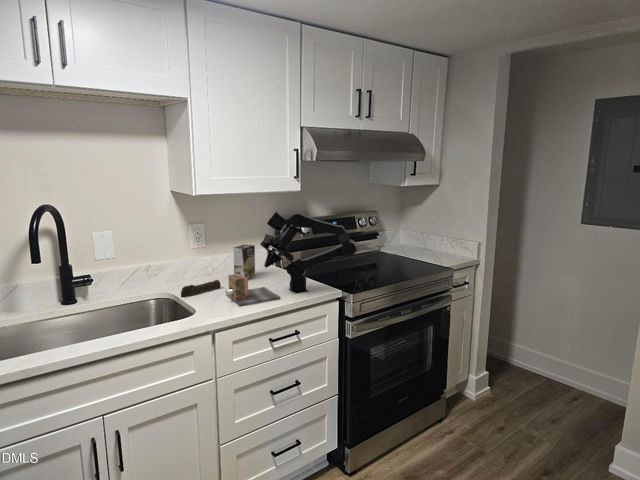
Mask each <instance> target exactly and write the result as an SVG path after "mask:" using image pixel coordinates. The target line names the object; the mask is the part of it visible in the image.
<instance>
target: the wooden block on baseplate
mask: <svg viewBox="0 0 640 480" xmlns="http://www.w3.org/2000/svg"><path fill="white" fill-rule="evenodd" d="M230 289H233V291H234V294H230V295H226V294H225V296H226V297H227V298H228V299H230V300H231V301H232V302H233V303H234V304H236V305H237V306H238V307H240V308H241V307H244V306H251V305H256V304H260V303H267V302H272V301H277V300H281V296H279V295H278V294H277V293H275V292H273V291H272V290H270V289H268V288H267V287H265V286H263V287H257V288H250V289H249V288H248V297H245V279H244V278H243V277H241V276H240V275H238V274H234V273H233V274H228V290H230Z"/></svg>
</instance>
